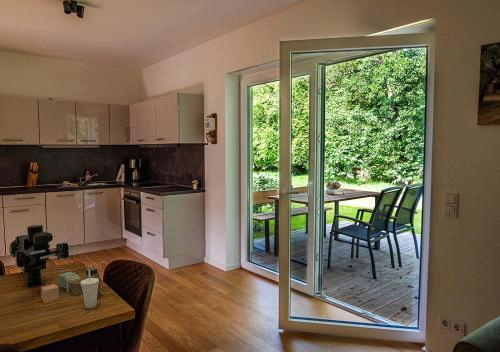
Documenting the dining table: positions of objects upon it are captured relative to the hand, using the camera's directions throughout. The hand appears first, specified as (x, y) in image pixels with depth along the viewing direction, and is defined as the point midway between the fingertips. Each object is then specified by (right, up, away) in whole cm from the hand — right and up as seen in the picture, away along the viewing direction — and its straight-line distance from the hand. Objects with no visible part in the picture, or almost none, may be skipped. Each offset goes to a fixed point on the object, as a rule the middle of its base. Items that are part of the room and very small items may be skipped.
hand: (49, 258), depth 143 cm
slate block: (-1, -16, +17) cm, 23 cm away
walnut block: (+7, -16, +8) cm, 19 cm away
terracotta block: (-1, -17, +2) cm, 17 cm away
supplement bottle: (+15, -16, +5) cm, 23 cm away
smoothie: (+18, -17, -5) cm, 25 cm away
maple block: (+3, -16, +13) cm, 20 cm away
